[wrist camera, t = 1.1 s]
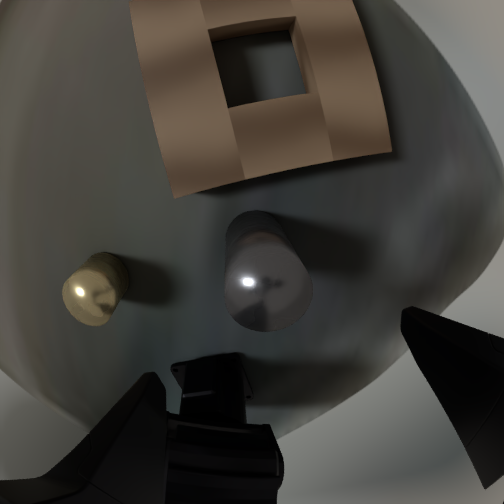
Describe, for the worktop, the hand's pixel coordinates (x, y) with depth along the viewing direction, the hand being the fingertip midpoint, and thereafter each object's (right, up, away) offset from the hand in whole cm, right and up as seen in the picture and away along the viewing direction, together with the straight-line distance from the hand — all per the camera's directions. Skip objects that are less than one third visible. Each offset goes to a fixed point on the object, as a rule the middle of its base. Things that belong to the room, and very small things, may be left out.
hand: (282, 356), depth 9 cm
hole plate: (-1, +15, +7) cm, 17 cm away
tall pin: (-1, +4, +11) cm, 12 cm away
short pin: (-13, +2, +11) cm, 17 cm away
